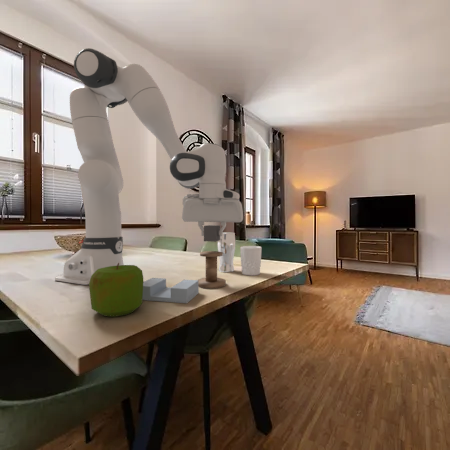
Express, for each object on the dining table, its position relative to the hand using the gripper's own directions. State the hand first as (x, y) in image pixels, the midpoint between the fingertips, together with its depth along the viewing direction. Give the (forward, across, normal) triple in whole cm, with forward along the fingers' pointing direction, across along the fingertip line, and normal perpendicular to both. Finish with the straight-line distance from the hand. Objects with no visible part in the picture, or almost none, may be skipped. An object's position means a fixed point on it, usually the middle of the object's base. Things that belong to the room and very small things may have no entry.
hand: (212, 235), depth 87 cm
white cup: (+15, +12, +14) cm, 23 cm away
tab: (+2, 0, 0) cm, 2 cm away
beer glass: (+15, +2, +17) cm, 22 cm away
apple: (+15, -13, -32) cm, 38 cm away
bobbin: (+15, +1, -5) cm, 16 cm away
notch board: (+15, -7, -19) cm, 25 cm away
